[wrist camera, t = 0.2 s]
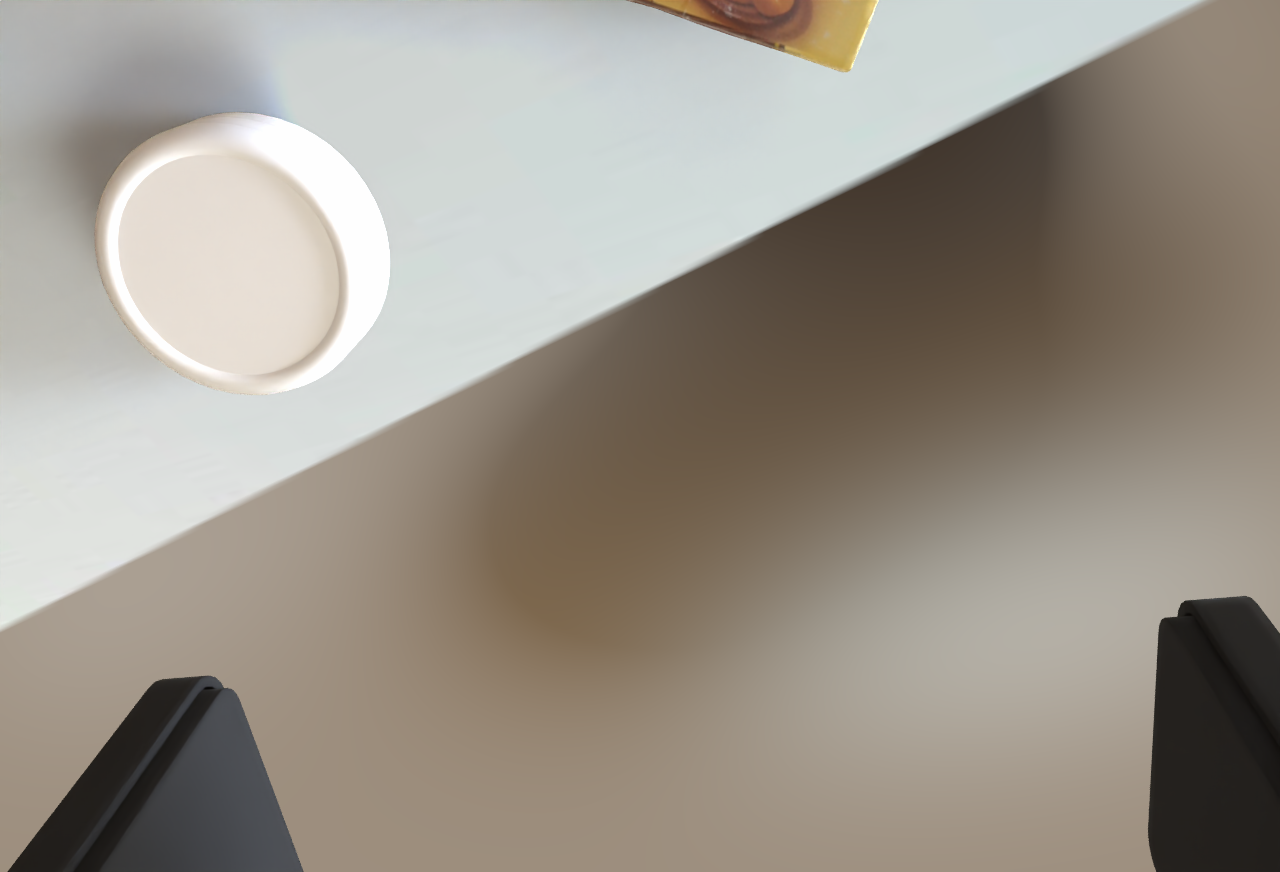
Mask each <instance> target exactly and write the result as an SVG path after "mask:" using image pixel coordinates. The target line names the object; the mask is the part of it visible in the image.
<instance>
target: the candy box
mask: <svg viewBox="0 0 1280 872" xmlns="http://www.w3.org/2000/svg"><path fill="white" fill-rule="evenodd" d="M627 1H631V2H635V3H639V4H642V5H646V6H650V7H653V8H656V9H659V10H662V11H664V12H667V13H670V14H673V15H675V16H678V17H681V18H684V19H686V20H689V21H692V22H694V23H697V24H700V25H703V26H706V27H708V28H711V29H714V30H717V31H720V32H723V33H726V34H729V35H732V36H735V37H738V38H741V39H744V40H748V41H751V42H754V43H757V44H760V45H763V46H766V47H769V48H773V49H776V50H779V51H782V52H785V53H788V54H791V55H794V56H797V57H800V58H803V59H806V60H808V61H811V62H814V63H817V64H820V65H823V66H826V67H829V68H832V69H834V70H837V71H840V72H848V71H850V70H851V68H852V66H853V63H854V60H855V58H856V55H857V53H858V51H859V49H860V46H861V44H862V41H863V39H864V36H865V33H866V30H867V28H868V26H869V23H870V21H871V19H872V16H873V13H874V11H875V8H876V5H877V3H878V0H627Z"/></svg>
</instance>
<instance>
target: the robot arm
mask: <svg viewBox="0 0 1280 872" xmlns="http://www.w3.org/2000/svg"><path fill="white" fill-rule="evenodd" d="M1156 671H1157V672H1156V689H1155V691H1156V692H1155V708H1154V728H1153V746H1152V765H1151V784H1150V803H1149V804H1150V805H1149V822H1148V838H1149V846H1150V851H1151V856H1152V860H1153V863H1154V867H1155V869H1156V872H1280V633H1279V632H1278V631H1277V629H1276V628H1275V627H1274V625H1273V624H1272V623H1271V621H1270V620H1269V619H1268V617H1267V616H1266V615H1265V613H1264V612H1263V611H1262V609H1261V608H1260V607H1259V605H1258V604H1257V603H1256V602H1255V601H1254V600H1253V599H1252V598H1250V597H1247V596H1240V597H1227V598H1214V599H1201V600H1188V601H1184V602H1183V603H1181V605H1180V608H1179V610H1178V616H1177V617H1170V618H1164V619H1162V620H1161V623H1160V625H1159V634H1158V653H1157V670H1156ZM8 872H303V869H302V866H301V863H300V861H299V858H298V856H297V853H296V850H295V848H294V845H293V843H292V839H291V837H290V834H289V831H288V829H287V826H286V823H285V821H284V818H283V815H282V812H281V810H280V807H279V804H278V802H277V799H276V796H275V794H274V791H273V788H272V786H271V783H270V780H269V777H268V775H267V772H266V769H265V767H264V764H263V761H262V759H261V756H260V753H259V751H258V748H257V745H256V743H255V740H254V737H253V735H252V732H251V729H250V727H249V724H248V721H247V718H246V716H245V713H244V710H243V708H242V705H241V702H240V700H239V698H238V696H237V694H236V693H235V692H234V691H233V690H232V689H228V688H224V687H223V685H222V684H221V682H220V681H219V680H218V679H217V678H215V677H212V676H199V677H185V678H173V679H162V680H159V681H156V682H155V683H154V684H152V685H151V686H150V687H149V688H148V690H147V691H146V692H145V693H144V695H143V696H142V697H141V699H140V700H139V701H138V703H137V704H136V705H135V706H134V708H133V709H132V710H131V712H130V713H129V714H128V716H127V717H126V718H125V720H124V721H123V722H122V723H121V725H120V726H119V728H118V729H117V730H116V731H115V733H114V734H113V735H112V737H111V738H110V739H109V740H108V742H107V743H106V744H105V746H104V747H103V748H102V749H101V751H100V752H99V753H98V755H97V756H96V757H95V759H94V760H93V761H92V763H91V764H90V765H89V766H88V768H87V769H86V770H85V772H84V773H83V774H82V775H81V777H80V778H79V779H78V781H77V782H76V783H75V785H74V786H73V787H72V788H71V790H70V791H69V792H68V794H67V795H66V796H65V798H64V799H63V800H62V802H61V803H60V804H59V805H58V807H57V808H56V809H55V811H54V812H53V813H52V814H51V816H50V817H49V818H48V820H47V821H46V822H45V824H44V825H43V826H42V827H41V829H40V830H39V831H38V833H37V834H36V835H35V837H34V838H33V839H32V841H31V842H30V843H29V844H28V846H27V847H26V849H25V850H24V851H23V852H22V854H21V855H20V856H19V857H18V859H17V860H16V861H15V863H14V864H13V865H12V867H11V868H10V869H9V871H8Z"/></svg>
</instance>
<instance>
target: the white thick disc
mask: <svg viewBox="0 0 1280 872" xmlns="http://www.w3.org/2000/svg"><path fill="white" fill-rule="evenodd" d="M94 236H95V252H96V258H97V264H98V269H99V272H100V275H101V279H102V282H103V285H104V287H105V289H106V292H107V294H108V296H109V299H110V301H111V303H112V304H113V306H114V308H115V310H116V312H117V313H118V315H119V317H120V318H121V319H122V321H123V322H124V324H125V325H126V327H127V328H128V330H129V331H130V332H131V333H132V334H133V335H134V337H135V338H136V339H137V340H138V341H139V342H140V344H142V345H143V346H144V347H145V348H146V349H147V350H148V351H149V352H150V353H151V354H152V355H153V356H154V357H156V358H157V359H158V360H160V361H161V362H162V363H163V364H165V365H166V366H167V367H169V368H171V369H172V370H174V371H175V372H177V373H179V374H180V375H182V376H184V377H186V378H188V379H190V380H192V381H194V382H196V383H198V384H201V385H204V386H207V387H210V388H212V389H216V390H220V391H224V392H229V393H235V394H245V395H267V394H274V393H280V392H285V391H288V390H291V389H295V388H298V387H301V386H304V385H306V384H308V383H310V382H313V381H315V380H317V379H319V378H320V377H322V376H323V375H325V374H326V373H328V372H329V371H331V370H332V369H333V368H334V367H335V366H336V365H337V364H338V363H340V362H341V361H342V360H343V359H344V358H345V356H346V355H347V354H348V353H349V351H351V350H352V349H353V348H354V346H355V345H356V344H357V343H358V341H359V340H361V339H362V337H363V336H364V335H365V334H366V332H367V331H368V330H369V329H370V327H371V326H372V325H373V323H374V321H375V319H376V318H377V316H378V314H379V312H380V310H381V307H382V305H383V302H384V299H385V296H386V292H387V287H388V282H389V270H390V258H389V245H388V240H387V234H386V230H385V226H384V223H383V220H382V217H381V214H380V212H379V210H378V207H377V205H376V203H375V201H374V199H373V197H372V195H371V193H370V192H369V190H368V188H367V186H366V185H365V183H364V182H363V180H362V179H361V178H360V176H359V175H358V173H357V172H356V171H355V169H354V168H353V167H352V166H351V165H350V164H349V163H348V162H347V161H346V160H345V159H344V157H343V156H341V155H340V154H339V153H338V152H337V151H336V150H335V149H333V148H332V147H331V146H330V145H329V144H327V143H326V142H324V141H323V140H322V139H320V138H319V137H317V136H316V135H314V134H313V133H311V132H309V131H307V130H305V129H303V128H301V127H299V126H297V125H295V124H292V123H289V122H287V121H284V120H281V119H279V118H275V117H271V116H266V115H262V114H255V113H245V112H231V113H219V114H214V115H209V116H204V117H202V118H199V119H196V120H194V121H191V122H188V123H186V124H183V125H180V126H178V127H175V128H172V129H170V130H167V131H164V132H162V133H159V134H157V135H155V136H154V137H152V138H150V139H148V140H146V141H145V142H143V143H142V144H140V145H139V146H138V147H137V148H135V149H134V150H133V151H132V152H130V153H129V154H128V155H127V157H126V158H125V159H124V160H123V161H122V162H121V163H120V165H119V166H118V167H117V169H116V170H115V172H114V173H113V175H112V176H111V178H110V180H109V181H108V183H107V184H106V187H105V189H104V192H103V194H102V196H101V199H100V202H99V206H98V210H97V214H96V221H95V233H94Z"/></svg>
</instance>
